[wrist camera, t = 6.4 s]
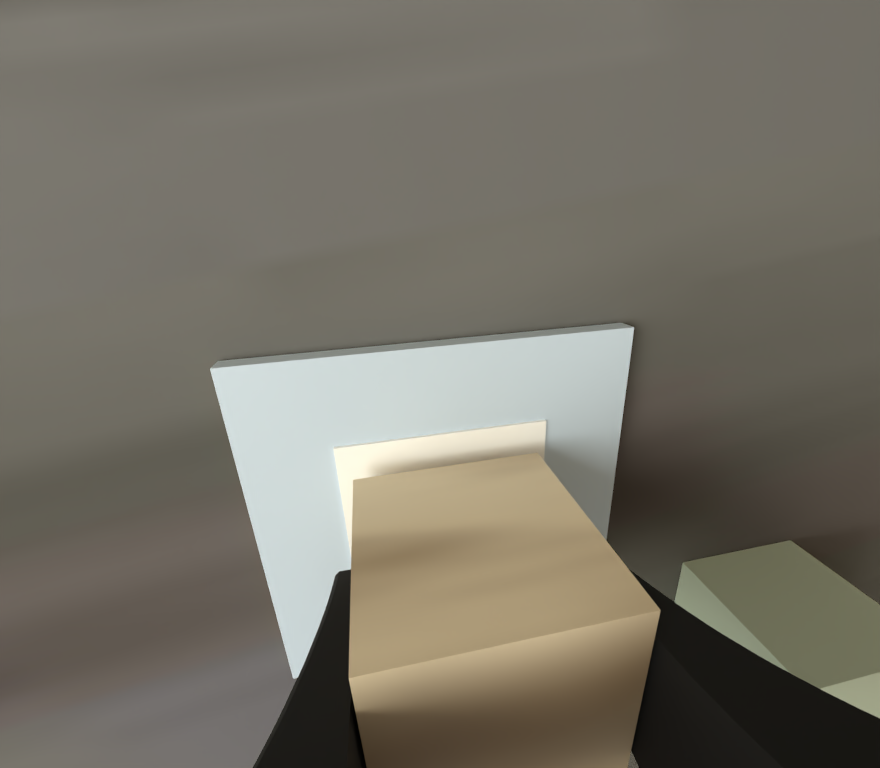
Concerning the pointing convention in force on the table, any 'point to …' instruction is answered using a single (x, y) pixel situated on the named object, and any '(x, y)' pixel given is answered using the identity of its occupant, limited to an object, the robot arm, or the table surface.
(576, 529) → the maple block
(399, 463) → the board
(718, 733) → the robot arm
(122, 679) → the table surface
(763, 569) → the sage block
